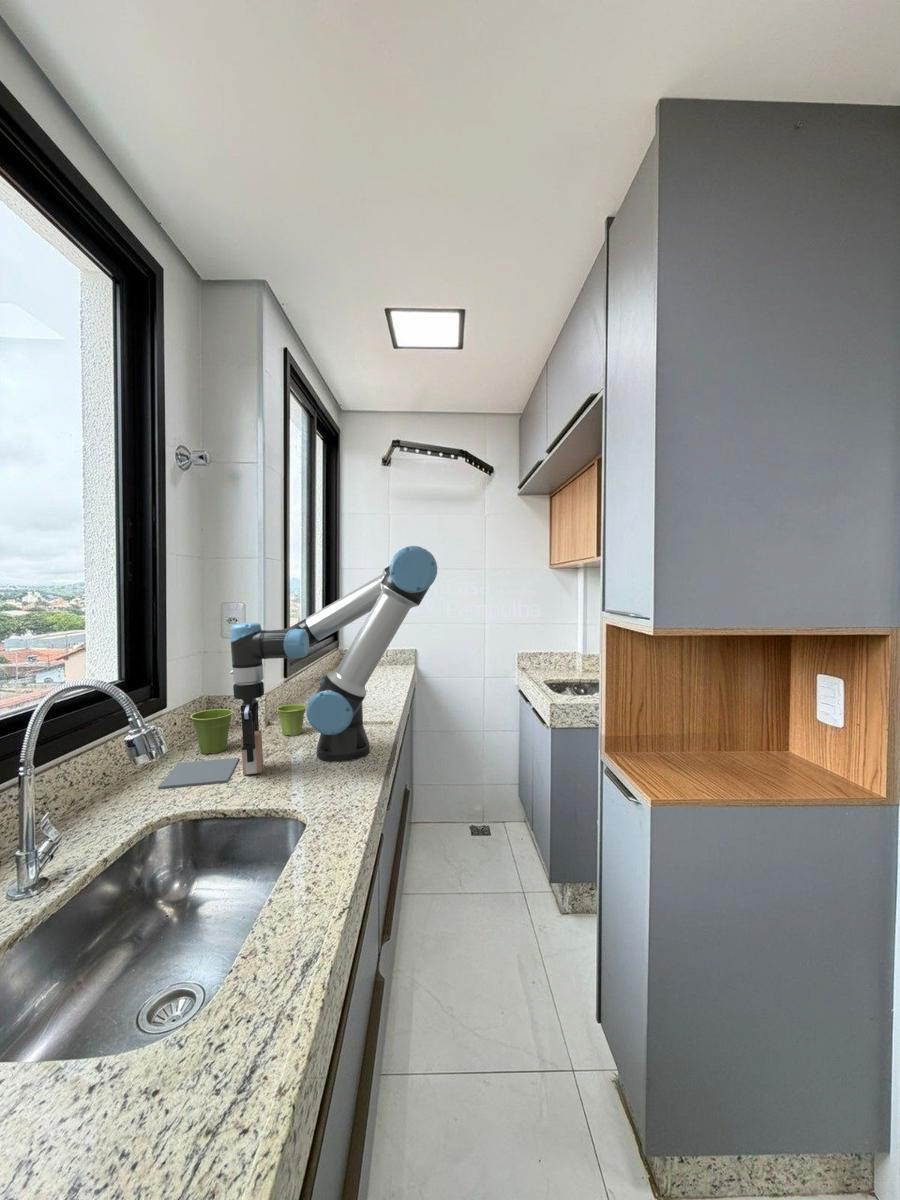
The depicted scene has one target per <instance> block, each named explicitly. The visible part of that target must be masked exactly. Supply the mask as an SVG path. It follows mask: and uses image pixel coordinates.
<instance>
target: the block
mask: <svg viewBox="0 0 900 1200" xmlns="http://www.w3.org/2000/svg"><path fill="white" fill-rule="evenodd" d="M262 731H263V730H260V729H259V731H255V748H256V757H257V773H253V774H252V775H254V774H261V773H263V769H264V755H263V754H264V752H263V750H264V749H263V734H262ZM240 742H241V745H240V747H241V748H243V734H241V736H240ZM241 758H242V759H241V761H242V762H241V763H242V775H243V776H245V775H246V776H247V774H246V766H245V750H241Z"/></svg>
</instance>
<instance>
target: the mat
mask: <svg viewBox="0 0 900 1200" xmlns="http://www.w3.org/2000/svg"><path fill="white" fill-rule="evenodd" d="M239 761H240V757H232V758H231V757H229V758H218V759H208V760H207V759H206V760H197V761H186V762H185V761H183V762H177V764H176V765H175V766H174V767H173V769H172V770H171V771H170V772H169V773H168V774H167V776H166V777H165V778H163V781H162V782H161V783H160V784H159V785H158V786H157V789H158V790H164V789H174V788H185V787H194V786H195V787H196V786H206V785H215V784H224V783H225V784H227V783H228V782H229V781H230V779H231V776H232V775H233V773H234V771H235V769H236V767H237V765H238V762H239Z"/></svg>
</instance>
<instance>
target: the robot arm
mask: <svg viewBox="0 0 900 1200" xmlns="http://www.w3.org/2000/svg"><path fill="white" fill-rule="evenodd" d="M390 561H391V563H390V564H389V565H388V566H387V567H385V568H383V571H382V573H381V574H380V575H378V576H377V577H375V578H372V580H369V581H368V582H367V583H364V584H362V585H361V586H359V587H358V588H356V589H354V590H353V591H350V592H349V593H348V594H345V595H344V596H342V597H340V598H339V599H336V600H335V601H333V602H332V603H330V604H328V605H326V606H325V607H323V608H321V609H319V610H318V611H317V612H315V613H313V614H311V615H309V616H308V617H306V618H304V619H302V620H300V621H298V622H297V623H295V624H294V625H292V626H290V627H286V628H283V629H273V630H272V629H271V630H265V629H263V628H262V627H261V624H260V623H259V622H245V623H243V622H241V623H236V624H234V625H232V626H231V628H230V641H229V642H230V650H231V651H230V653H231V663H232V664H231V667H232V669H231V670H230V672H229V674H231V675H232V681H233V683H234V684H233V685H232V686H233V687H232V688H233V689H232V691H233V698H234V699H236V700H239V701H241V700H242V705H240V718H241V729H242V734H243V748H242V747H241V751H242V750H245V766H246V775H254V774H253V773H255V774H258V773H257V757H256V748H255V731H260V727H259V726H260V725H259V724H260V723H259V721H260V720H259V700H257V699H259V698H261V697H263V696H264V695H265V684H264V682H263V680H264V664H263V663H264V661H263V660H268V659H292V660H293V659H298V658H299V659H300V658H305V657H306V656H307V655H308V654H309V649H310V647H312V646H313V645H314V644H317V643H318V642H320V641H321V640H323V639H325V638H327V637H328V636H331V635H332V634H333V633H336V632H337V631H339V630H341V629H343V628H344V627H346V626H347V625H349V624H352V623H353V622H354V621H357V620H359V619H360V618H362V617H363V616H365V615H367V614H368V615H367V617H366V618H365V621H364V622H363V624H362V626H361V627H360V629H359V631H358V632H357V634H356V636H355V637H354V638H353V640H352V643H351V644H350V646H349V648H348V650H347V651H346V653H345V654H344V656H343V658H342V660H341V662H340V663H339V665H338V666H337V668H336V669H334V670H333V671H329V672H327V674H325V675H321V677H320V682H319V687H318V689H317V691H316V692H315V694H314V695H312V696H311V697H310V698H309V701H308V702H307V705H306V710H305V712H306V717H307V721H308V724H309V725H310V726H311V727H312V728H313V730H315V731H316V732H318V734H320V735H319V739H318V742H317V746H316V758H318V759H319V760H321V761H325V762H334V763H337V762H339V763H340V762H351V761H355V760H359V759H361V758H364V757H366V756H368V755H369V754H370V753H371V747H370V744H371V743H370V740H369V738H368V735H367V733H366V729H365V727H364V717H363V716H364V713H363V709H364V708H363V701H364V699H365V698H366V697H367V690H366V684H367V683H368V681H369V679H370V678H371V676H372V675H373V673H374V671H375V670H376V668H377V666H378V664H379V663H380V661H381V659H382V658H383V656H384V655H385V652H386V651H387V649H388V647H389V646H390V644H391V642H392V640H393V639H394V637H395V635H397V632H398V630H399V629H400V627H401V626H402V624H403V622H404V620H405V619H406V617H407V616H408V614H409V612H410V610H411V609H413V608H416V607H419V606H420V605H421V603H422V602H423V599H424V597H425V596H426V595H427V593H428V591H429V589H430V587H431V586H432V585H433V584H434V582H435V580H436V578H437V576H438V562H437V561H436V558H435V556H434V555H433V554H432V553H431V552H430V551H429V550H427V549H426V548H424V547H421V546H417V545H409V546H406V547H404V548H402V549H400V550H399V551H398V552H396V553H395V554H394V555H393V556H392V559H391V560H390ZM242 734H241V735H242Z"/></svg>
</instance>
